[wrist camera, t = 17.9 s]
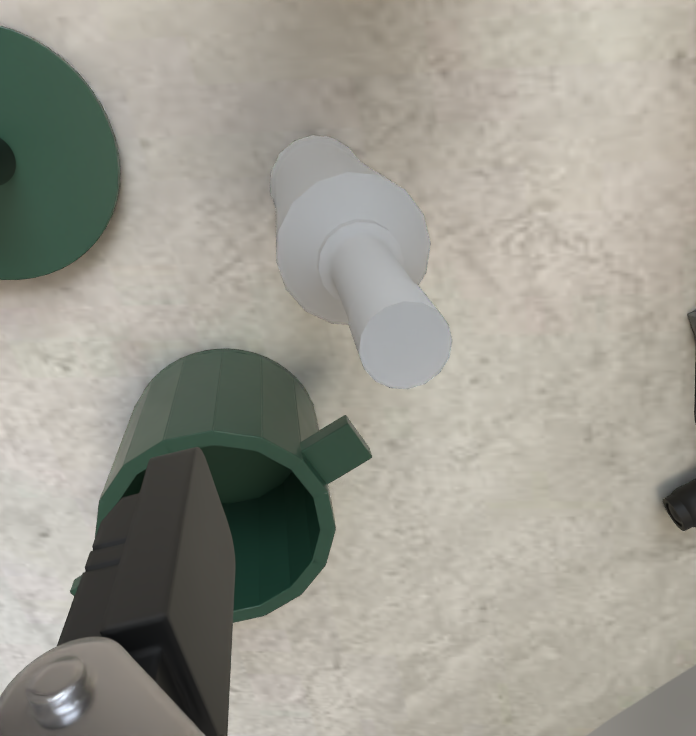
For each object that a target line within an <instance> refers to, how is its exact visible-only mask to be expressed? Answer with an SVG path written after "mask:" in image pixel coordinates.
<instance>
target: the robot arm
mask: <svg viewBox="0 0 696 736" xmlns="http://www.w3.org/2000/svg"><path fill="white" fill-rule="evenodd" d="M694 415H695V423H696V364H695V407H694ZM92 547H93V551H91V552H90V554H89V557H88V560H87V563H86V566H85V570H86V572H84V573H83V574H82V577H81V580H80V582H79V585H78V588H77V591H76V594H75V596H74V599H73V602H72V605H71V608H70V611H69V613H68V616H67V619H66V622H65V625H64V627H63V630H62V633H61V636H60V639H59V641H58V644H57V647H55V648H53V649H51V650H49V651H47V652H46V653H44V654H43V655H41V656H39V657H38V658H36V659H35V660H34V661H32V662H31V663H30V664H29V665H27V666H26V667H25V668H24V669H23V670H22V671H21V672H20V673H18V674H17V675H16V677H15V678H14V679H13V680H12V681H11V682H10V683H9V684H8V686H7V687H6V689H5V690H4V691H3V693H2V694H1V696H0V736H227V731H228V710H229V690H230V669H231V649H232V628H233V608H234V587H235V552H234V545H233V540H232V535H231V531H230V528H229V525H228V522H227V519H226V516H225V513H224V510H223V507H222V504H221V501H220V498H219V496H218V493H217V490H216V487H215V484H214V481H213V478H212V475H211V472H210V469H209V467H208V464H207V461H206V458H205V456H204V454H203V452H202V450H201V449H200V448H199V447H194V448H190V449H186V450H182V451H178V452H173V453H169V454H165V455H161V456H157V457H152V458H151V459H150V460H149V462H148V465H147V469H146V472H145V476H144V479H143V483H142V486H141V490H140V493H138V494H134V495H130V496H126V497H122V498H121V499H120V500H119V502H118V503H117V504H116V505H115V506H114V507H113V509H112V510H111V511H110V512H109V513H108V514H107V515H106V517H105V518H104V519H103V520H102V521H101V523H100V526H99V529H98V532H97V535H96V538H95V540H94V543H93V546H92Z"/></svg>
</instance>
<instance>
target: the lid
mask: <svg viewBox="0 0 696 736" xmlns="http://www.w3.org/2000/svg"><path fill="white" fill-rule="evenodd" d="M119 187H120V162H119V153H118V148H117V144H116V139H115V136H114V133H113V130H112V127H111V125H110V122H109V119H108V117H107V115H106V113H105V111H104V109H103V107H102V105H101V103H100V102H99V100H98V99H97V97H96V96H95V94H94V93H93V91H92V90H91V88H90V87H89V86H88V84H87V83H86V82H85V81H84V80H83V78H82V77H81V76H80V75H79V74H78V73H77V72H76V71H75V70H74V69H73V68H72V67H71V66H70V65H69V64H68V63H67V62H66V61H65V60H64V59H63V58H61V57H60V56H59V55H57V54H56V53H55V52H53V51H52V50H51V49H50V48H48V47H46V46H45V45H43V44H41V43H40V42H38V41H36V40H35V39H33V38H31V37H29V36H27V35H25V34H22V33H20V32H18V31H16V30H13V29H10V28H7V27H4V26H0V280H21V279H29V278H36V277H39V276H43V275H47V274H50V273H53V272H55V271H57V270H60V269H62V268H64V267H66V266H68V265H69V264H71V263H73V262H74V261H76V260H77V259H78V258H80V257H81V256H82V255H83V254H85V253H86V252H87V251H88V250H89V249H90V248H91V247H92V246H93V245H94V244H95V242H96V241H97V240H98V239H99V238H100V236H101V235H102V233H103V232H104V230H105V229H106V227H107V225H108V223H109V221H110V219H111V217H112V215H113V212H114V209H115V206H116V202H117V198H118V192H119Z"/></svg>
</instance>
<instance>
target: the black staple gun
mask: <svg viewBox="0 0 696 736" xmlns="http://www.w3.org/2000/svg"><path fill="white" fill-rule="evenodd" d="M688 317H689V320H690V323H691V326H692V329H693V332H694V335H695V338H696V311H694V312H692V313H690V314H688ZM663 504H664V506H665V508H666V510H667V512H668V514H669V516H670V517H671V519H672V520H673V522H674V523H675V524H676V525H677V526H678V527H679V528H680V529H681V530H682V531H685V530H687V529H689V528H691V527H696V479H695V480H693V481H691V482H689V483H687V484H685V485H683V486H681V487H679V488H677V489H676V490H674V491H673V493H672V494H671V496H669V497H666V498H664V499H663Z"/></svg>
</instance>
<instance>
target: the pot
mask: <svg viewBox="0 0 696 736" xmlns="http://www.w3.org/2000/svg"><path fill="white" fill-rule="evenodd" d="M194 447H199V448H200V449H201V450H202V452H203V454H204V456H205V458H206V461H207V464H208V467H209V469H210V472H211V475H212V478H213V481H214V484H215V487H216V490H217V493H218V496H219V498H220V501H221V504H222V507H223V510H224V513H225V516H226V519H227V522H228V525H229V528H230V531H231V535H232V540H233V545H234V552H235V587H234V608H233V623H234V622H238V621H243V620H248V619H252V618H257V617H262V616H264V615H267V614H269V613H270V612H272V611H274V610H276V609H277V608H279V607H281V606H283V605H284V604H286V603H288V602H290V601H291V600H293V599H295V598H296V597H298V596H300V595H301V594H302V593H303V592H304V591H305V590H306V588H307V587H308V586H309V585H310V584H311V582H312V581H313V580H314V579H315V578H316V576H317V575H318V574H319V573H320V571H321V570H322V569H323V568H324V567H325V565H326V563H327V559H328V555H329V552H330V548H331V545H332V541H333V537H334V534H335V530H336V529H335V528H336V527H335V521H334V515H333V509H332V503H331V498H330V492H329V486H328V484H329V483H330V482H332V481H334V480H336V479H337V478H339V477H341V476H342V475H344V474H346V473H347V472H349V471H351V470H352V469H354V468H356V467H357V466H359V465H361V464H362V463H364V462H366V461H367V460H369V459H371V458H372V455H371V451H370V448H369V446H368V445H367V444H366V442H365V441H364V439H363V438H362V437H361V435H360V434H359V432H358V431H357V430H356V428H355V427H354V425H353V424H352V423H351V421H350V420H349V418H348V417H347V416H346V415H344V416H342V417H341V418H339V419H337V420H336V421H334V422H333V423H331V424H329V425H328V426H326V427H324V428H323V429H321V430H319V429H318V424H317V419H316V414H315V409H314V404H313V402H312V401H311V399H310V397H309V395H308V393H307V392H306V390H305V389H304V387H303V386H302V384H301V383H300V382H299V381H298V380H297V379H296V377H295V376H293V375H292V374H291V373H290V372H289V371H288V370H287V369H285V368H284V367H282V366H281V365H279V364H278V363H276V362H274V361H272V360H271V359H269V358H267V357H264V356H261V355H259V354H256V353H252V352H248V351H244V350H235V349H214V350H206V351H202V352H198V353H194V354H191V355H188V356H186V357H183V358H181V359H179V360H177V361H175V362H174V363H172V364H170V365H169V366H167V367H166V368H165V369H163V370H162V371H161V372H160V373H159V374H157V375H156V376H155V377H154V378H153V379H152V381H151V382H150V383H149V384H148V386H147V387H146V388H145V390H144V392H143V394H142V395H141V397H140V399H139V400H138V402H137V404H136V405H135V407H134V410H133V412H132V415H131V418H130V420H129V423H128V426H127V428H126V431H125V434H124V436H123V439H122V442H121V444H120V447H119V450H118V452H117V455H116V458H115V460H114V463H113V466H112V468H111V471H110V474H109V476H108V479H107V482H106V484H105V487H104V490H103V492H102V495H101V497H100V500H99V506H98V515H97V524H96V533H95V538H96V535H97V532H98V529H99V526H100V523H101V521H102V520H103V519H104V518H105V517H106V515H107V514H108V513H109V512H110V511H111V510H112V509H113V507H114V506H115V505H116V504H117V503H118V502H119V500H120V499H121V498H122V497H126V496H130V495H134V494H138V493H140V490H141V486H142V483H143V479H144V476H145V472H146V469H147V465H148V462H149V460H150V459H151V458H152V457H157V456H161V455H165V454H169V453H173V452H178V451H182V450H186V449H190V448H194ZM81 577H82V575H81V576H79V577H78V578H76V579H75V580H74V582H73V585H72V588H71V590H70V593H71V594H72V595H73V596H75V594H76V591H77V588H78V585H79V582H80V580H81Z"/></svg>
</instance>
